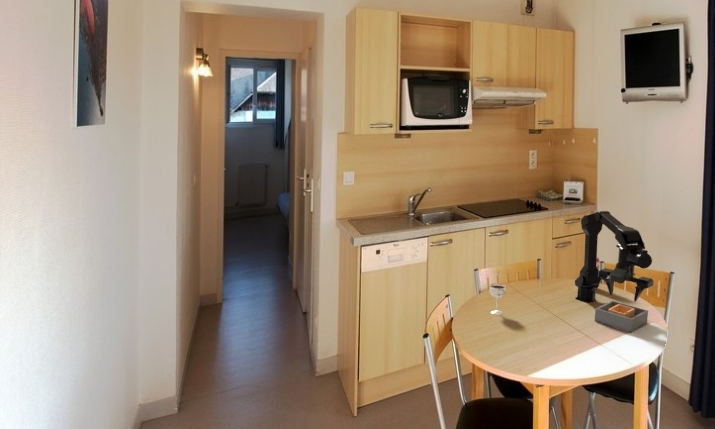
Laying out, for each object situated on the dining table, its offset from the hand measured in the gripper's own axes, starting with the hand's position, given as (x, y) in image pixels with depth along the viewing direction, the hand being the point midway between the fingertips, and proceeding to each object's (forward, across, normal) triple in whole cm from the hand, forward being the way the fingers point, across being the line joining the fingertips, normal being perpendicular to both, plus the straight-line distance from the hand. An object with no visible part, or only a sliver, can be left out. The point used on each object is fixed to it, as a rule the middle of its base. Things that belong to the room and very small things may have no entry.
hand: (623, 298), depth 183 cm
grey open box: (+10, 0, 0) cm, 11 cm away
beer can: (+10, -28, +30) cm, 42 cm away
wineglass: (+11, -38, -30) cm, 50 cm away
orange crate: (+10, 0, 0) cm, 10 cm away
